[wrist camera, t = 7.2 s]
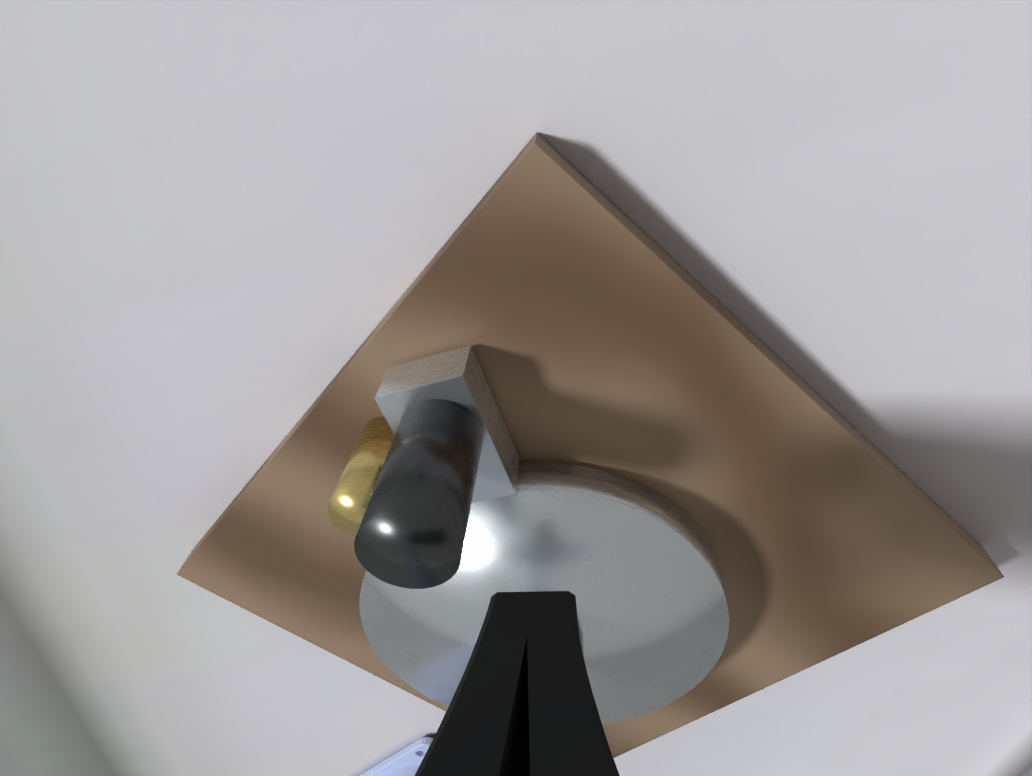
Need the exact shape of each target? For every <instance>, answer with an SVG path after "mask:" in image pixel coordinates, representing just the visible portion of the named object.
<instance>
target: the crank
mask: <svg viewBox="0 0 1032 776" xmlns="http://www.w3.org/2000/svg"><path fill="white" fill-rule="evenodd" d="M374 399H375V400H376V402H377V404H378V406H379V408H380V409H381V411H382V413H383V415H384V417H385V418H386V420H387V422H388V424H389V426H390V428H391V429H392V431H393V433H394V438H393V441H392V443H391V446H390V449H389V451H388V454H387V456H386V459H385V462H384V464H383V467H382V469H381V472H380V475H379V477H378V480H377V482H376V485H375V488H374V490H373V493H372V496H371V498H370V501H369V503H368V506H367V509H366V511H365V514H364V516H363V519H362V522H361V524H360V527H359V529H358V532H357V535H356V537H355V541H354V550H355V554H356V556H357V559H358V560H359V562H360V563H361V565H362V566H363V567H364V568H365V569H366V573H365V576H364V579H363V582H362V586H361V592H360V597H359V609H360V617H361V621H362V626H363V629H364V631H365V634H366V636H367V638H368V641H369V643H370V644H371V646H372V647H373V649H374V650H375V652H376V654H377V655H378V656H379V657H380V659H381V660H382V661H383V662H384V663H385V664H386V666H387V667H388V668H389V669H390V670H391V671H393V672H394V673H395V674H396V675H397V676H398V677H399V678H400V679H401V680H403V681H404V682H406V683H407V684H408V685H410V686H411V687H413V688H414V689H415V690H417V691H419V692H420V693H422V694H424V695H425V696H427V697H429V698H431V699H432V700H435V701H437V702H439V703H441V704H443V705H445V706H447V707H449V705H450V703H451V700H452V698H453V696H454V694H455V692H456V689H457V687H458V685H459V683H460V680H461V678H462V676H463V674H464V671H465V669H466V666H467V664H468V661H469V659H470V656H471V654H472V652H473V649H474V646H475V644H476V641H477V639H478V636H479V633H480V630H481V628H482V625H483V622H484V619H485V616H486V613H487V610H488V606H489V603H490V599H491V597H492V596H493V595H494V594H495V593H497V592H535V591H569V592H571V593H572V594H574V595H575V596H576V606H577V616H578V626H579V627H580V629H581V631H582V633H583V651H584V661H585V665H586V670H587V674H588V678H589V681H590V685H591V689H592V693H593V696H594V699H595V702H596V706H597V709H598V712H599V716H600V719H601V722H602V725H606V724H611V723H616V722H620V721H625V720H629V719H632V718H635V717H638V716H642V715H645V714H647V713H650V712H652V711H655V710H657V709H659V708H662V707H664V706H666V705H668V704H670V703H671V702H673V701H675V700H677V699H679V698H680V697H682V696H683V695H685V694H686V693H687V692H689V691H690V690H692V689H693V688H694V687H695V686H696V685H698V684H699V683H700V682H701V681H702V680H703V679H704V678H705V677H706V676H707V675H708V674H709V672H710V671H711V670H712V669H713V667H714V666H715V665H716V663H717V661H718V660H719V658H720V656H721V654H722V652H723V650H724V647H725V644H726V641H727V637H728V631H729V613H728V605H727V601H726V597H725V593H724V589H723V585H722V581H721V577H720V573H719V569H718V565H717V562H716V560H715V557H714V554H713V551H712V549H711V547H710V545H709V543H708V542H707V540H706V538H705V536H704V535H703V533H702V532H701V531H700V530H699V528H698V527H697V526H696V525H695V524H694V522H693V521H692V520H691V519H690V518H689V517H688V516H687V515H686V514H685V513H683V512H682V511H681V510H680V509H679V508H678V507H677V506H676V505H674V504H673V503H671V502H670V501H668V500H667V499H665V498H664V497H662V496H661V495H659V494H658V493H656V492H654V491H652V490H650V489H648V488H646V487H645V486H643V485H641V484H639V483H637V482H634V481H632V480H629V479H626V478H624V477H621V476H618V475H616V474H613V473H610V472H606V471H602V470H598V469H594V468H590V467H586V466H579V465H572V464H566V463H557V462H535V461H531V462H519V460H520V458H519V456H518V454H517V451H516V449H515V447H514V444H513V442H512V440H511V437H510V435H509V433H508V431H507V428H506V426H505V424H504V421H503V419H502V417H501V414H500V412H499V410H498V407H497V405H496V403H495V400H494V398H493V396H492V393H491V391H490V389H489V386H488V384H487V382H486V379H485V377H484V375H483V372H482V370H481V368H480V365H479V363H478V361H477V358H476V356H475V354H474V351H473V349H472V347H471V345H470V346H466V347H463V348H459V349H455V350H451V351H448V352H444V353H440V354H436V355H433V356H429V357H425V358H422V359H418V360H414V361H410V362H407V363H403V364H399V365H395V366H392V367H389V368H388V370H387V373H386V375H385V377H384V379H383V381H382V383H381V385H380V388H379V390H378V392H377V394H376V396H375V398H374Z"/></svg>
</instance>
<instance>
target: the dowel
mask: <svg viewBox="0 0 1032 776" xmlns="http://www.w3.org/2000/svg"><path fill="white" fill-rule="evenodd" d="M393 438H394V433H393V431H392V429H391V428H390V426H389V424H388V422H387V420H386V418H385V417H384V416H382V417H376V418H373V419H371V420H370V421H368V422H367V423H366V424H365V426H364V427H363V430H362V432H361V434H360V436H359V438H358V440H357V443H356V445H355V447H354V449H353V451H352V454H351V456H350V458H349V460H348V462H347V464H346V467H345V469H344V471H343V473H342V475H341V478H340V480H339V482H338V484H337V486H336V488H335V491H334V493H333V495H332V497H331V499H330V501H329V504H328V506H327V515H328V518H329V520H330V521H331V523H332V524H333V525H334V526H335V527H336V528H337V529H339V530H340V531H342V532H343V533H345V534H348V535H350V536H354V537H356V535H357V532H358V529H359V527H360V524H361V522H362V519H363V516H364V514H365V511H366V509H367V506H368V503H369V501H370V498H371V496H372V493H373V490H374V488H375V485H376V482H377V480H378V477H379V475H380V472H381V469H382V467H383V464H384V462H385V459H386V456H387V454H388V451H389V449H390V446H391V443H392V441H393Z"/></svg>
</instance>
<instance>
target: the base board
mask: <svg viewBox="0 0 1032 776" xmlns="http://www.w3.org/2000/svg"><path fill="white" fill-rule="evenodd" d="M470 345H471V347H472V349H473V351H474V354H475V356H476V358H477V361H478V363H479V365H480V368H481V370H482V372H483V375H484V377H485V379H486V382H487V384H488V386H489V389H490V391H491V393H492V396H493V398H494V400H495V403H496V405H497V407H498V410H499V412H500V414H501V417H502V419H503V421H504V424H505V426H506V428H507V431H508V433H509V435H510V437H511V440H512V442H513V444H514V447H515V449H516V451H517V454H518V456H519V458H520V460H519V462H531V461H535V462H557V463H566V464H572V465H579V466H586V467H590V468H594V469H598V470H602V471H606V472H610V473H613V474H616V475H618V476H621V477H624V478H626V479H629V480H632V481H634V482H637V483H639V484H641V485H643V486H645V487H646V488H648V489H650V490H652V491H654V492H656V493H658V494H659V495H661V496H662V497H664V498H665V499H667V500H668V501H670V502H671V503H673V504H674V505H676V506H677V507H678V508H679V509H680V510H681V511H682V512H683V513H685V514H686V515H687V516H688V517H689V518H690V519H691V520H692V521H693V522H694V524H695V525H696V526H697V527H698V528H699V530H700V531H701V532H702V533H703V535H704V536H705V538H706V540H707V542H708V543H709V545H710V547H711V549H712V551H713V554H714V557H715V560H716V562H717V565H718V569H719V573H720V577H721V581H722V585H723V589H724V593H725V597H726V601H727V605H728V613H729V631H728V637H727V641H726V644H725V647H724V650H723V652H722V654H721V656H720V658H719V660H718V661H717V663H716V665H715V666H714V667H713V669H712V670H711V671H710V672H709V674H708V675H707V676H706V677H705V678H704V679H703V680H702V681H701V682H700V683H699V684H698V685H696V686H695V687H694V688H693V689H692V690H690V691H689V692H687V693H686V694H685V695H683V696H682V697H680V698H679V699H677V700H675V701H673V702H671V703H670V704H668V705H666V706H664V707H662V708H659V709H657V710H655V711H652V712H650V713H647V714H645V715H642V716H638V717H635V718H632V719H629V720H625V721H620V722H616V723H611V724H606V725H602V726H603V729H604V732H605V735H606V738H607V741H608V744H609V747H610V750H611V753H612V756H613V758H615V757H617V756H619V755H621V754H623V753H625V752H627V751H630V750H632V749H634V748H636V747H638V746H640V745H643V744H645V743H647V742H649V741H651V740H653V739H656V738H658V737H660V736H662V735H664V734H666V733H668V732H671V731H673V730H675V729H677V728H679V727H681V726H684V725H686V724H688V723H690V722H692V721H694V720H697V719H699V718H701V717H703V716H705V715H707V714H709V713H712V712H714V711H716V710H718V709H720V708H722V707H725V706H727V705H729V704H731V703H733V702H735V701H738V700H740V699H742V698H744V697H746V696H748V695H750V694H753V693H755V692H757V691H759V690H761V689H763V688H766V687H768V686H770V685H772V684H774V683H776V682H779V681H781V680H783V679H785V678H787V677H789V676H791V675H794V674H796V673H798V672H800V671H802V670H804V669H807V668H809V667H811V666H813V665H815V664H817V663H820V662H822V661H824V660H826V659H828V658H830V657H832V656H835V655H837V654H839V653H841V652H843V651H845V650H848V649H850V648H852V647H854V646H856V645H858V644H861V643H863V642H865V641H867V640H869V639H871V638H874V637H876V636H878V635H880V634H882V633H884V632H886V631H889V630H891V629H893V628H895V627H897V626H899V625H902V624H904V623H906V622H908V621H910V620H912V619H915V618H917V617H919V616H921V615H923V614H925V613H927V612H930V611H932V610H934V609H936V608H938V607H940V606H943V605H945V604H947V603H949V602H951V601H953V600H956V599H958V598H960V597H962V596H964V595H966V594H968V593H971V592H973V591H975V590H977V589H979V588H981V587H984V586H986V585H988V584H990V583H992V582H994V581H997V580H999V579H1001V578H1003V577H1004V576H1003V574H1002V573H1001V572H1000V570H999V569H998V568H997V566H996V565H995V564H994V562H993V561H992V559H991V558H990V557H989V555H988V554H987V553H986V551H985V550H984V548H983V547H982V546H980V545H979V544H978V543H977V542H976V541H975V540H974V539H973V538H972V537H971V536H970V535H969V534H968V533H967V532H965V531H964V530H963V529H962V528H961V527H960V526H959V525H958V524H957V523H956V522H955V521H954V520H953V519H951V518H950V517H949V516H948V515H947V514H946V513H945V512H944V511H943V510H942V509H941V508H940V507H939V506H938V505H936V504H935V503H934V502H933V501H932V500H931V499H930V498H929V497H928V496H927V495H926V494H925V493H924V492H923V491H921V490H920V489H919V488H918V487H917V486H916V485H915V484H914V483H913V482H912V481H911V480H910V479H909V478H907V477H906V476H905V475H904V474H903V473H902V472H901V471H900V470H899V469H898V468H897V467H896V466H895V465H894V464H892V463H891V462H890V461H889V460H888V459H887V458H886V457H885V456H884V455H883V454H882V453H881V452H880V451H879V450H877V449H876V448H875V447H874V446H873V445H872V444H871V443H870V442H869V441H868V440H867V439H866V438H865V437H864V436H862V435H861V434H860V433H859V432H858V431H857V430H856V429H855V428H854V427H853V426H852V425H851V424H850V423H848V422H847V421H846V420H845V419H844V418H843V417H842V416H841V415H840V414H839V413H838V412H837V411H836V410H835V409H833V408H832V407H831V406H830V405H829V404H828V403H827V402H826V401H825V400H824V399H823V398H822V397H821V396H820V395H818V394H817V393H816V392H815V391H814V390H813V389H812V388H811V387H810V386H809V385H808V384H807V383H806V382H804V381H803V380H802V379H801V378H800V377H799V376H798V375H797V374H796V373H795V372H794V371H793V370H792V369H791V368H789V367H788V366H787V365H786V364H785V363H784V362H783V361H782V360H781V359H780V358H779V357H778V356H777V355H776V354H774V353H773V352H772V351H771V350H770V349H769V348H768V347H767V346H766V345H765V344H764V343H763V342H762V341H760V340H759V339H758V338H757V337H756V336H755V335H754V334H753V333H752V332H751V331H750V330H749V329H748V328H747V327H745V326H744V325H743V324H742V323H741V322H740V321H739V320H738V319H737V318H736V317H735V316H734V315H733V314H732V313H730V312H729V311H728V310H727V309H726V308H725V307H724V306H723V305H722V304H721V303H720V302H719V301H718V300H717V299H715V298H714V297H713V296H712V295H711V294H710V293H709V292H708V291H707V290H706V289H705V288H704V287H703V286H701V285H700V284H699V283H698V282H697V281H696V280H695V279H694V278H693V277H692V276H691V275H690V274H689V273H688V272H686V271H685V270H684V269H683V268H682V267H681V266H680V265H679V264H678V263H677V262H676V261H675V260H674V259H673V258H671V257H670V256H669V255H668V254H667V253H666V252H665V251H664V250H663V249H662V248H661V247H660V246H659V245H657V244H656V243H655V242H654V241H653V240H652V239H651V238H650V237H649V236H648V235H647V234H646V233H645V232H644V231H642V230H641V229H640V228H639V227H638V226H637V225H636V224H635V223H634V222H633V221H632V220H631V219H630V218H629V217H627V216H626V215H625V214H624V213H623V212H622V211H621V210H620V209H619V208H618V207H617V206H616V205H615V204H614V203H612V202H611V201H610V200H609V199H608V198H607V197H606V196H605V195H604V194H603V193H602V192H601V191H600V190H598V189H597V188H596V187H595V186H594V185H593V184H592V183H591V182H590V181H589V180H588V179H587V178H586V177H585V176H583V175H582V174H581V173H580V172H579V171H578V170H577V169H576V168H575V167H574V166H573V165H572V164H571V163H570V162H568V161H567V160H566V159H565V158H564V157H563V156H562V155H561V154H560V153H559V152H558V151H557V150H556V149H554V148H553V147H552V146H551V145H550V144H549V143H548V142H547V141H546V140H545V139H544V138H543V137H542V136H541V135H539V134H538V133H536V134H535V135H534V137H533V138H532V139H531V140H530V141H529V143H528V144H527V145H526V146H525V147H524V149H523V150H522V151H521V152H520V154H519V155H518V156H517V157H516V158H515V160H514V161H513V162H512V163H511V164H510V166H509V167H508V168H507V169H506V170H505V172H504V173H503V174H502V175H501V177H500V178H499V179H498V180H497V181H496V183H495V184H494V185H493V186H492V187H491V189H490V190H489V191H488V192H487V194H486V195H485V196H484V197H483V198H482V200H481V201H480V202H479V203H478V204H477V206H476V207H475V208H474V209H473V211H472V212H471V213H470V214H469V215H468V217H467V218H466V219H465V220H464V221H463V223H462V224H461V225H460V226H459V227H458V229H457V230H456V231H455V232H454V234H453V235H452V236H451V237H450V238H449V240H448V241H447V242H446V243H445V244H444V246H443V247H442V248H441V249H440V251H439V252H438V253H437V254H436V255H435V257H434V258H433V259H432V260H431V261H430V263H429V264H428V265H427V266H426V267H425V269H424V270H423V271H422V272H421V274H420V275H419V276H418V277H417V278H416V280H415V281H414V282H413V283H412V284H411V286H410V287H409V288H408V289H407V291H406V292H405V293H404V294H403V295H402V297H401V298H400V299H399V300H398V301H397V303H396V304H395V305H394V306H393V308H392V309H391V310H390V311H389V312H388V314H387V315H386V316H385V317H384V318H383V320H382V321H381V322H380V323H379V324H378V326H377V327H376V328H375V329H374V331H373V332H372V333H371V334H370V335H369V337H368V338H367V339H366V340H365V341H364V343H363V344H362V345H361V346H360V348H359V349H358V350H357V351H356V352H355V354H354V355H353V356H352V357H351V358H350V360H349V361H348V362H347V363H346V364H345V366H344V367H343V368H342V369H341V371H340V372H339V373H338V374H337V375H336V377H335V378H334V379H333V380H332V381H331V383H330V384H329V385H328V386H327V388H326V389H325V390H324V391H323V392H322V394H321V395H320V396H319V397H318V398H317V400H316V401H315V402H314V403H313V405H312V406H311V407H310V408H309V409H308V411H307V412H306V413H305V414H304V415H303V417H302V418H301V419H300V420H299V421H298V423H297V424H296V425H295V426H294V428H293V429H292V430H291V431H290V432H289V434H288V435H287V436H286V437H285V438H284V440H283V441H282V442H281V443H280V445H279V446H278V447H277V448H276V449H275V451H274V452H273V453H272V454H271V455H270V457H269V458H268V459H267V460H266V462H265V463H264V464H263V465H262V466H261V468H260V469H259V470H258V471H257V472H256V474H255V475H254V476H253V477H252V478H251V480H250V481H249V482H248V483H247V485H246V486H245V487H244V488H243V489H242V491H241V492H240V493H239V494H238V495H237V497H236V498H235V499H234V500H233V502H232V503H231V504H230V505H229V506H228V508H227V509H226V510H225V511H224V512H223V514H222V515H221V516H220V517H219V518H218V520H217V521H216V522H215V523H214V525H213V526H212V527H211V528H210V529H209V531H208V532H207V533H206V534H205V535H204V537H203V538H202V539H201V540H200V542H199V543H198V544H197V545H196V546H195V548H194V549H193V550H192V552H191V553H190V555H189V556H188V558H187V559H186V561H185V562H184V564H183V565H182V567H181V568H180V570H179V571H178V573H177V575H179V576H181V577H183V578H185V579H187V580H189V581H191V582H193V583H195V584H197V585H199V586H200V587H202V588H204V589H206V590H208V591H210V592H212V593H214V594H216V595H218V596H220V597H222V598H224V599H226V600H228V601H230V602H232V603H234V604H236V605H238V606H240V607H242V608H244V609H246V610H248V611H250V612H252V613H254V614H256V615H258V616H260V617H261V618H263V619H265V620H267V621H269V622H271V623H273V624H275V625H277V626H279V627H281V628H283V629H285V630H287V631H289V632H291V633H293V634H295V635H297V636H299V637H301V638H303V639H305V640H307V641H309V642H311V643H313V644H315V645H317V646H319V647H320V648H322V649H324V650H326V651H328V652H330V653H332V654H334V655H336V656H338V657H340V658H342V659H344V660H346V661H348V662H350V663H352V664H354V665H356V666H358V667H360V668H362V669H364V670H366V671H368V672H370V673H372V674H374V675H376V676H378V677H379V678H381V679H383V680H385V681H387V682H389V683H391V684H393V685H395V686H397V687H399V688H401V689H403V690H405V691H407V692H409V693H411V694H413V695H415V696H417V697H419V698H421V699H423V700H425V701H427V702H429V703H431V704H433V705H435V706H437V707H438V708H440V709H442V710H444V711H446V712H447V709H448V707H447V706H445V705H443V704H441V703H439V702H437V701H435V700H432V699H431V698H429V697H427V696H425V695H424V694H422V693H420V692H419V691H417V690H415V689H414V688H413V687H411V686H410V685H408V684H407V683H406V682H404V681H403V680H401V679H400V678H399V677H398V676H397V675H396V674H395V673H394V672H393V671H391V670H390V669H389V668H388V667H387V666H386V664H385V663H384V662H383V661H382V660H381V659H380V657H379V656H378V655H377V654H376V652H375V650H374V649H373V647H372V646H371V644H370V643H369V641H368V638H367V636H366V634H365V631H364V629H363V626H362V621H361V617H360V609H359V597H360V592H361V586H362V582H363V579H364V576H365V573H366V569H365V568H364V567H363V566H362V565H361V563H360V562H359V560H358V559H357V556H356V554H355V550H354V541H355V537H354V536H350V535H348V534H345V533H343V532H342V531H340V530H339V529H337V528H336V527H335V526H334V525H333V524H332V523H331V521H330V520H329V518H328V515H327V506H328V504H329V501H330V499H331V497H332V495H333V493H334V491H335V488H336V486H337V484H338V482H339V480H340V478H341V475H342V473H343V471H344V469H345V467H346V464H347V462H348V460H349V458H350V456H351V454H352V451H353V449H354V447H355V445H356V443H357V440H358V438H359V436H360V434H361V432H362V430H363V427H364V426H365V424H366V423H367V422H368V421H370V420H371V419H373V418H376V417H382V416H384V415H383V413H382V411H381V409H380V408H379V406H378V404H377V402H376V400H375V399H374V398H375V396H376V394H377V392H378V390H379V388H380V385H381V383H382V381H383V379H384V377H385V375H386V373H387V370H388V368H389V367H392V366H395V365H399V364H403V363H407V362H410V361H414V360H418V359H422V358H425V357H429V356H433V355H436V354H440V353H444V352H448V351H451V350H455V349H459V348H463V347H466V346H470Z"/></svg>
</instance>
